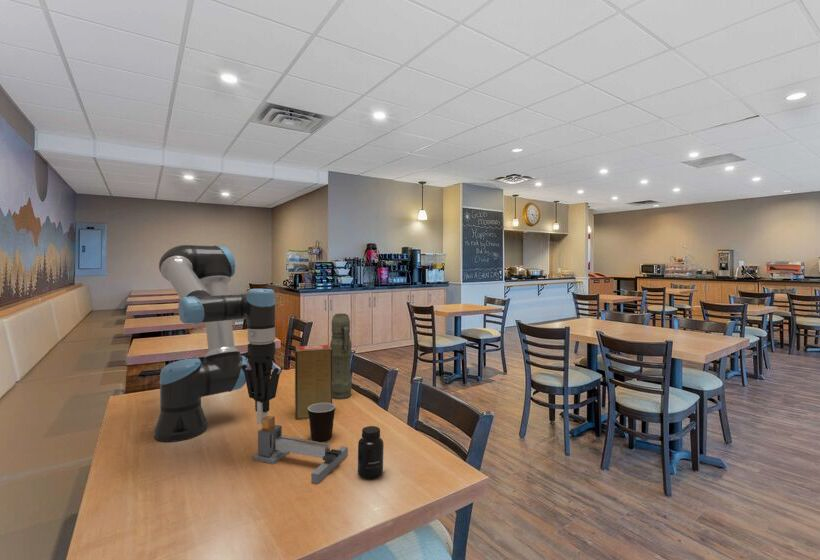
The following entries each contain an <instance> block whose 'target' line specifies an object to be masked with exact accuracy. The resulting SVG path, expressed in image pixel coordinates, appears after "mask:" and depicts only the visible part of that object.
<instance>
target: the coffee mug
mask: <svg viewBox="0 0 820 560" xmlns="http://www.w3.org/2000/svg"><path fill="white" fill-rule="evenodd" d="M335 412H336V405H335V404H333V403H332V404H331V403H317V404H313V405H311V406H309V407H308V414H309V418H308V420H309V428H310V431H309V432H310V436H311V437H310V438H311V439H310V440H311V441H317V442H322V443H327V442H329V441H330V440H331V439H333V438H332V437H333V430H334V421H335Z"/></svg>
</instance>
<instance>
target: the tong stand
mask: <svg viewBox="0 0 820 560" xmlns="http://www.w3.org/2000/svg"><path fill="white" fill-rule="evenodd" d="M271 438H272V456H271V457H267V456H262V455H258V453H256V454H254V455H253V457H252V459H253V461H255V462H256V461H257V462H260V463H261V462H262V463H267V464H271V465H274V464H277V463H278V462H279V461H280V460H281V459H283V458H285V456H287V455H289V454H290V452H285V451H279V450H275V449H273V434H272V435H271ZM348 448H349V447H348V446H343V445H341V446H340V447H339V448H338V449H337V450H340V451H342V454H341V455H340V456H338V457H336V459H335V460H334V461H333V462H330V461H324V460H323V462H321V464H320V465H319V466H317V468H315V469H314V470H313V471H312V472H311V474H310V475H311V479H310V480H311V483H312V484H317V485H318V484H320V482H322V481H324V479H325V478H326V477H327V476H328V475H329V474H330V473H332V471H333V470H334V469H335V468H336V467H338V466H339V464H340V463H342V462H343V460H344V459H346V457H348V456H349V451H348V450H349V449H348Z"/></svg>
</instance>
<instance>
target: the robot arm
mask: <svg viewBox="0 0 820 560" xmlns="http://www.w3.org/2000/svg"><path fill="white" fill-rule="evenodd" d="M158 270H159V271H160V274H161V276H162V277H163V279H165V280H166V281H168V282H169V283H170V284H171V286H172V287H173V289H174V291H175V293H176V294H177V296H178V298H179V301H178V309H177V310H178V315H179V320H180V322H181V323H183V324H202V323H205V331H206V341H207V350H208V351H207V352H206V353H205V355H204V357H203V359H204V361H201V359H200V358H195V357H191V358H184V359H180V360H176V361H173V362H170V363H168V364H166V365H165V366H163V367H162V368H161V370H160V375H159V381H158V382H159V389H160V390H159V393H160V394H159V395H160V397H159V399H160V402H159V403H160V412H159V417H158V419H157V423H156V426H155V428H154V436H153V437H154V438H155V440H157V441H160V442H178V441H184V440H189V439H192V438H195V437H197V436H199V435H202V434H203V433H204V432H206V431H207V429H208V419H207V418H206V416H205V412H204V410H203V407H202V398H203V397H209V396H213V395H214V396H215V395H217V394H218V395H220V394H223V393H231V392H233V391H237V390H239V389H240V390H241V389H242V388H243V387H245V386H246V388H247V389H246V390H247V393H248V397H249V398H250V399H253V400H254V405H255V406H254V407H255V408H254V409H255V412H256V424H257V425H261V426H262V419H264V418H266V417H268V416H269V415H268V412H269V411H270V401H271V400H273V399H274V398H276V395H277V391H278V386H279V381H280V375H281V373H282V372H283V370H284V368H283V367H282V366H279V365H277V364H276V360H275V355H276V342H275V341H276V299H275V297H276V296H275V291H274V289H272V288H252V289H248V290H247V293H239V294H229V288H228V284H229V283H230V281H232V277H234V275H235V273H236V260H235V257H234V254H233V252H232V251H231V250H230V249H229V248H228V247H227V246H218V245H196V244H195V245H194V244H193V245H190V244H183V245H177V246H174V247H172V248H169V249H168V250H167V251H165V252H164V254H162V256H161V257H160V259H159V262H158ZM235 320H236V321H237V320H246V323H247V327H246V328H247V342H248V344H247V357H248V358H249V359H248V360H247V357H246V356H244V355H241V350H239V349H238V348H237V347H236V346H235V338H234V330H233V323H232V322H233V321H235Z"/></svg>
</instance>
